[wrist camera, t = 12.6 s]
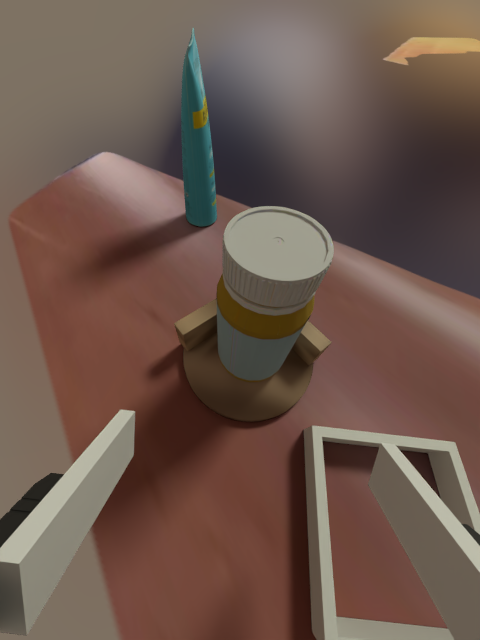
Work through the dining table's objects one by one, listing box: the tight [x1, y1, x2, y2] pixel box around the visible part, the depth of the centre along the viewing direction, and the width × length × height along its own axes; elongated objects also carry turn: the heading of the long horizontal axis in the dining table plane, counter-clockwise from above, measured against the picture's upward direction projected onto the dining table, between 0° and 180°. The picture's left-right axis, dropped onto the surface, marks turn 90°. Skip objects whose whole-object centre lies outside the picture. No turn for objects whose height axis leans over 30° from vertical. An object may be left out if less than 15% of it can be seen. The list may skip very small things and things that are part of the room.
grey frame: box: [304, 426, 480, 640], centre depth 19 cm, size 13×13×2 cm
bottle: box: [217, 206, 334, 382], centre depth 20 cm, size 7×7×15 cm
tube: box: [181, 28, 217, 226], centre depth 31 cm, size 7×5×19 cm, turn 8°
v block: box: [174, 298, 332, 422], centre depth 25 cm, size 14×15×4 cm
